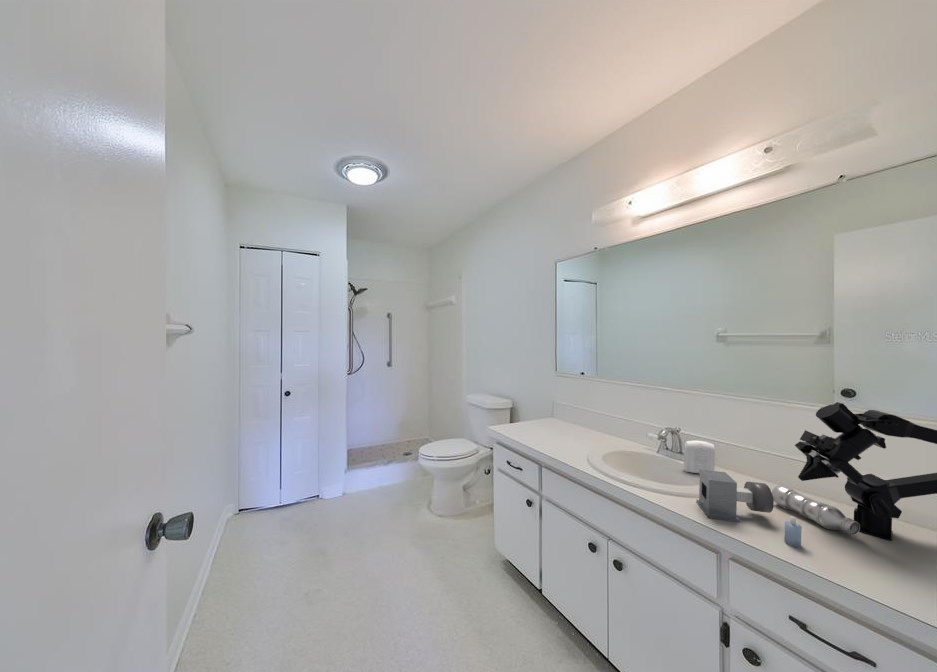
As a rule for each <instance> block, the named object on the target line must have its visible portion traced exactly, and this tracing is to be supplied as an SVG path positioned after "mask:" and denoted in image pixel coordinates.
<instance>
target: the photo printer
mask: <svg viewBox="0 0 937 672" xmlns="http://www.w3.org/2000/svg"><path fill="white" fill-rule="evenodd" d="M715 451H716V449H715V445H714V444H713V443H711V442H709V441H705V440H696V439H695V440H687V441H685V442H684V451H683V452H684V453H683V454H684V455H683V456H684V457H683V471H685V472H686V473H692V474H693V473H694V474H700V470H708V471H715V461H716V460H715V456H716V452H715Z"/></svg>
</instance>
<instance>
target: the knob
mask: <svg viewBox="0 0 937 672" xmlns="http://www.w3.org/2000/svg"><path fill="white" fill-rule="evenodd" d="M737 502H738V503H745V504H746V506H747V508H748V509H749V510H750V511H752V512H760V513H766V514H767V513H768V514H771V513H772V512H773V510H774V503H775V502H774V501H773V495H772V489H770V487H769V485H768V484H766V483H765V482H764V483H763V482H754V481H746V482H745V483H744V486H743V487H737Z"/></svg>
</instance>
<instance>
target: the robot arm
mask: <svg viewBox="0 0 937 672" xmlns="http://www.w3.org/2000/svg"><path fill="white" fill-rule="evenodd" d="M815 417H816V418H817V419H818V420H819V421H821V422H822V423H823V424H824V425H826V426H827V427H828V428H829V429H830V430H831V431H832V432H834V433H840V434H839V435H838V436H837V437H833V436H828V435H826V434H821V435H817V434H815V433H813V432H811V431H808V430H806V429H805V430H804V431H803V433H802V434H801V436H800V438H799V440H800V441H799V442H796V443H795V444H794V447H796V448H797V449H798V450H799V451H800V452H801V453H802V454H803V455H804V456H805V458H806V463H805V464H804V466H803V468H802V469H801V471H800V473H799V475H798V476H797V478H798V480H800V481H802V482H804V481H812V480H820V479H827V478H828V479H829V478H837V479H838V478H839V475H838V474H840V473H842V474H843V475H844V476H845V477H846V482H845V485H844V490H845V492H846V494H847V495H848V496H849V497H850V499H851V501H852V502H853V503H855V504H857V506H856V507H857V508H856V507H855V508H854V510H853V520H854V521H856V522H858V523H859V524H860V530H859V532H861V533H864V534H868V535H872V536H874V537H878V538H881V539H884V540H887V541H893V532H894V530H893V519H899V518H900V516H901V514H902V512H903V511H902V510H901V509H900V508H899V507H898V506H897V505H895V504H896V503H897V502H899V501H900V500H901V499H905V498H906V499H907V498H913V497H921V496H929V495H936V494H937V472H932V473H926V474H925V473H924V474H919V475H911V476H906V477H905V476H904V477H903V476H902V477H898V478H890V479H884V478H881V477H879V476H877V475H875V474H873V473H866V474H862V473H860V472H859V471H858V470H857V469H856V468H855V467H854V466H853V465H852V464H850V462H851V461H852V460H854V459H855V460H857V461H859V460H861V459H862V457H861V456H860V455H861V454H863V452H865V451H866V450H868V449H869V448H871V447H872V446H876V447H878V448H881V449H884V450H885V449H886V448H887V446H886V438H884V437H882V436H878V435H876V434H875V433H878V434H881V435H884V436H889V437H896V438H906V439H907V438H910V439H916V440H919V441H924V442H927V443H931V444H935V445H937V429H935V428H930V427H926V426H922V425H918V424H916V423H913V422H912V421H909V420H908V419H905V418H903V417H900V416H898V415H896V414H891V413H887V412H884V411H880V410H876V409H868V410H865V411H864V412H862V413H861V412H860V413H853V412H852V410H850V409H849V408H848V407H847V405H845V404H844V403H843V402H838V401H837V402H835V403H833V404H829V405H825V406H824V407H820V408H819V409H818V410H817V411H816V412H815ZM863 427H864V428H863ZM874 432H875V433H874Z"/></svg>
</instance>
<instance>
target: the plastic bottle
mask: <svg viewBox="0 0 937 672" xmlns="http://www.w3.org/2000/svg"><path fill="white" fill-rule="evenodd" d="M771 492H772V495H773V501H774V503H775V504H776V505H778V506H779V507H781V508H784V509H787V510H791V511H793V512H796V513H798V514H800V515H801V516H804V517H806V518H808V519H810V520H812V521H813V522H815V523H816V524H819V525H820V526H822V527H823V528H825V529H827V530H831V531H839V530H842V531H843V532H844V533H847V534H850V535H852V536H854V535H857V534H858V533H859V532H860V531H859V530H860V524H859V523H858V522H856V521H854V519H852V518H850V517H847V516H846V515H845V514H844V513H843V512H842V511H841V510H840V509H839V508H838V507H836V506H834V505H831V504H827V503H825V502H821V501H817V500H815V499H812V498H810V497H808V496H805V495H803V494H802V493H800V492H798V491H797V490H795V489H793V488H791V487H789V486H786V485H783V484H782V485H776V486H774V488H772V489H771Z"/></svg>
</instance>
